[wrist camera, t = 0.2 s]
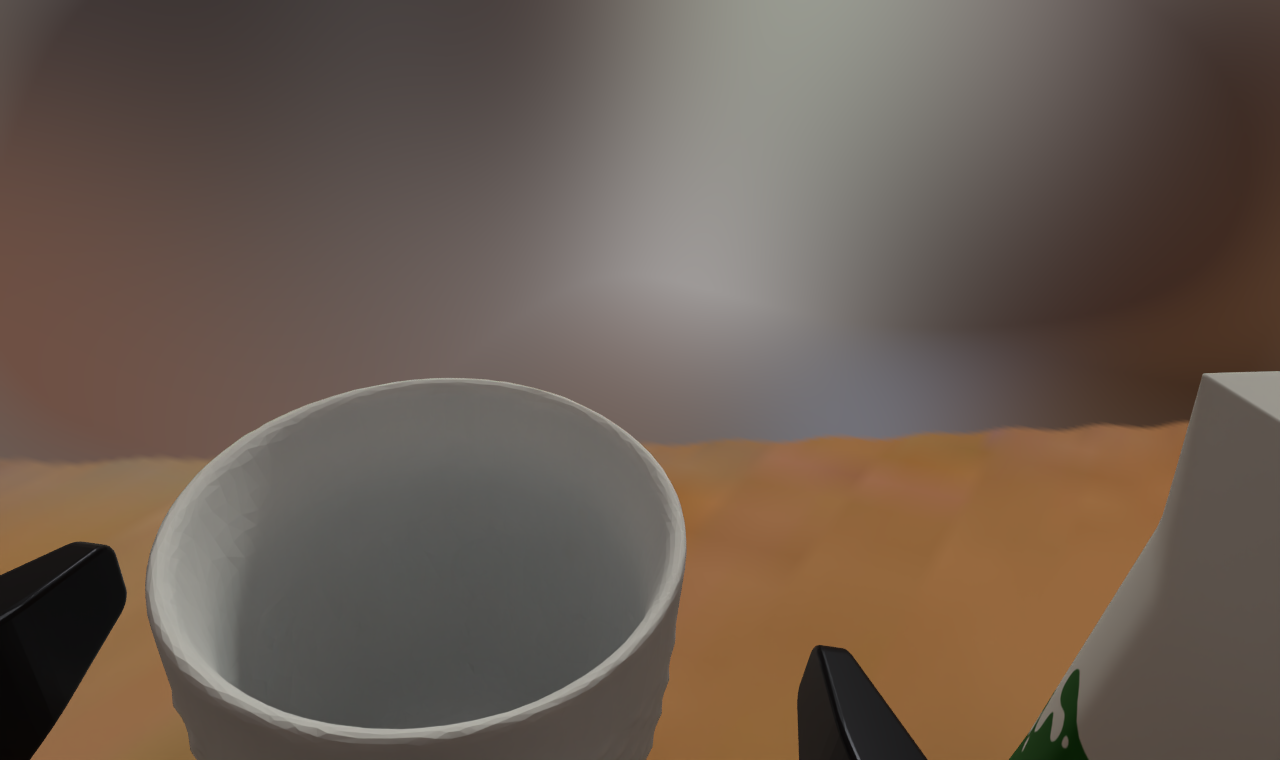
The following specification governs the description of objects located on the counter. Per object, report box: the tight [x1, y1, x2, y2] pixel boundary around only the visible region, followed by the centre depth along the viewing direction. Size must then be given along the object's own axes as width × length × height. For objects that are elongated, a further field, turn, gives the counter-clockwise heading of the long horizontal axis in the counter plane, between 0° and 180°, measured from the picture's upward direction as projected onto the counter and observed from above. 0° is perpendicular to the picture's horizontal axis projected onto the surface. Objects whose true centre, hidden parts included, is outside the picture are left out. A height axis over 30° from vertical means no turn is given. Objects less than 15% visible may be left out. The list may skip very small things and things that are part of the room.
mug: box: [145, 378, 686, 760], centre depth 18 cm, size 15×11×13 cm
